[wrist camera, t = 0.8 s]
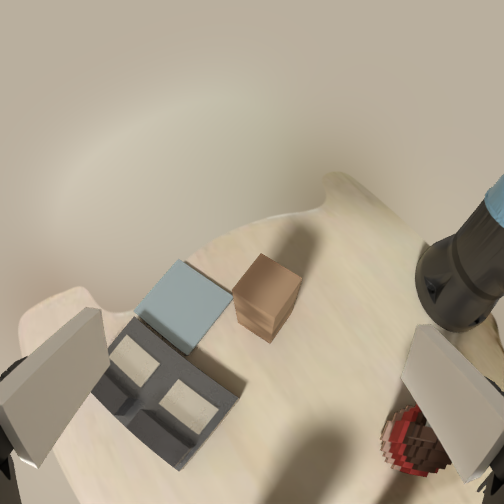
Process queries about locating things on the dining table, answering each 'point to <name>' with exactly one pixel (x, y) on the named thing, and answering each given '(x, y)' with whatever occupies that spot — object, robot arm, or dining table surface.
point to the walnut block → (265, 297)
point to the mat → (183, 306)
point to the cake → (413, 444)
